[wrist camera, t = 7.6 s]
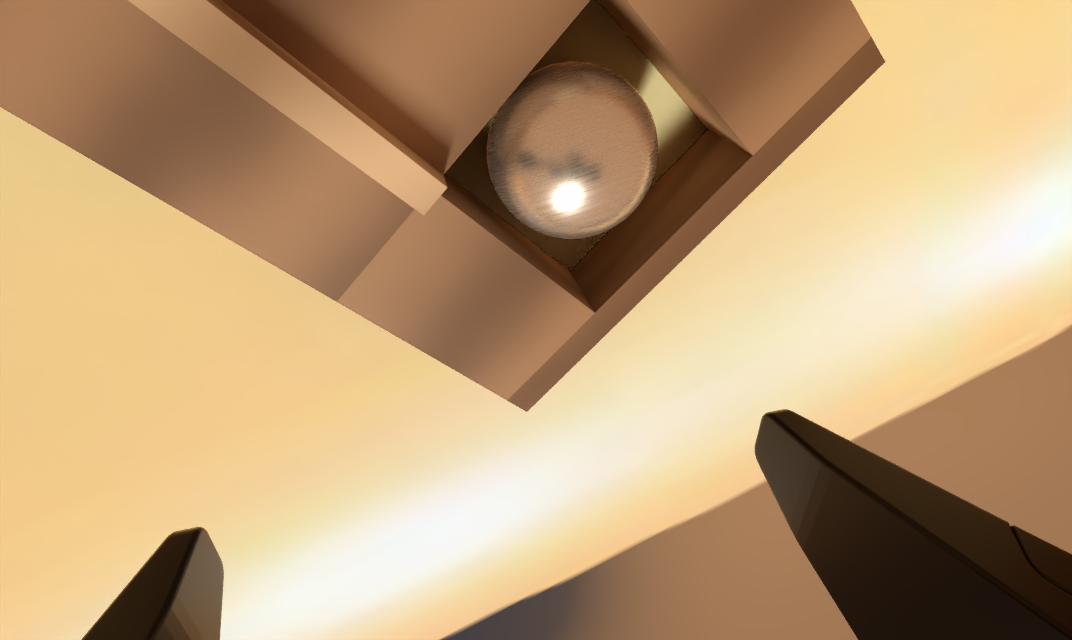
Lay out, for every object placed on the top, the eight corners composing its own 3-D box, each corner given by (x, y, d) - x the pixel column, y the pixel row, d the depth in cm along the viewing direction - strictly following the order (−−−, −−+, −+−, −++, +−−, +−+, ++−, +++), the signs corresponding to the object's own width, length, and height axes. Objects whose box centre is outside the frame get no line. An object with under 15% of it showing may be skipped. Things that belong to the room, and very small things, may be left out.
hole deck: (-105, -21, 14) (-244, -6, 11) (281, -822, 10) (243, -1181, 7) (510, 363, 25) (533, 430, 21) (822, 45, 20) (910, 68, 17)
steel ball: (535, 238, 21) (488, 96, 20) (675, 197, 20) (635, 41, 19) (501, 277, 17) (437, 96, 15) (679, 227, 15) (626, 24, 14)
